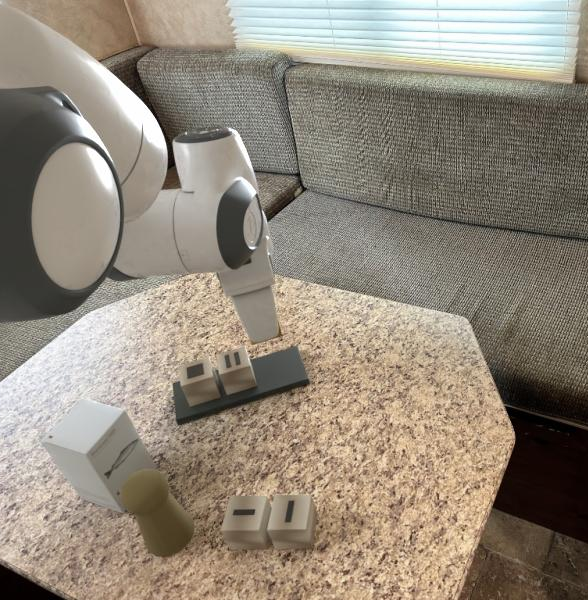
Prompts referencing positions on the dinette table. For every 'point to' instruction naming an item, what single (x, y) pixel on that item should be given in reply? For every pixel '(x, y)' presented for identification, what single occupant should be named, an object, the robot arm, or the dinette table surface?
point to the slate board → (270, 380)
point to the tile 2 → (236, 370)
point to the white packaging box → (97, 451)
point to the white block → (292, 521)
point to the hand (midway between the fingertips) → (261, 323)
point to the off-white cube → (247, 522)
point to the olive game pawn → (157, 513)
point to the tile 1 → (199, 381)
